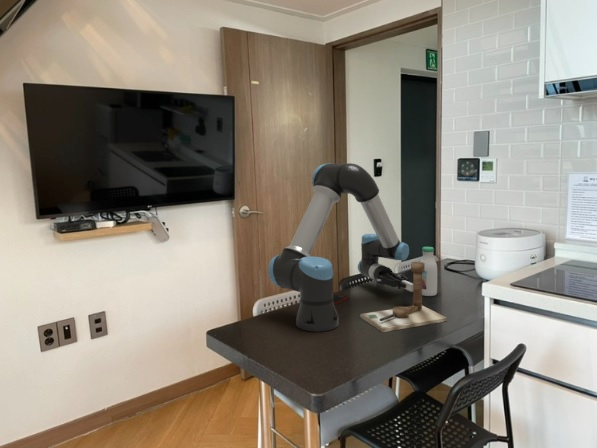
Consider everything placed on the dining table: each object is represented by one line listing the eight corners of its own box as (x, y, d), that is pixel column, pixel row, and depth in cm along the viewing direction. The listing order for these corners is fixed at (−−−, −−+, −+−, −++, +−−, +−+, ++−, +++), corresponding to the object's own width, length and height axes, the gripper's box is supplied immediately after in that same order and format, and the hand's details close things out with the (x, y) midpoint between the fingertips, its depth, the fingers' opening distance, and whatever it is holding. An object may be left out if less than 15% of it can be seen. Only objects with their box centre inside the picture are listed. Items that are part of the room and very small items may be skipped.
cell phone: (312, 304, 186) (312, 302, 186) (335, 296, 196) (335, 293, 196) (327, 308, 181) (326, 306, 180) (349, 299, 191) (349, 297, 191)
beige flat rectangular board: (382, 332, 154) (382, 327, 153) (360, 317, 169) (360, 313, 168) (447, 321, 162) (447, 316, 162) (420, 307, 177) (420, 303, 177)
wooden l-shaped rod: (386, 324, 156) (386, 275, 153) (374, 319, 160) (374, 272, 158) (427, 308, 170) (428, 263, 168) (415, 304, 175) (415, 261, 172)
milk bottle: (435, 291, 198) (435, 245, 195) (438, 296, 190) (439, 249, 187) (416, 291, 199) (417, 245, 196) (419, 296, 191) (420, 249, 188)
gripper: (394, 280, 199) (427, 295, 177) (367, 284, 195) (397, 299, 173) (394, 263, 198) (427, 276, 176) (367, 267, 193) (397, 280, 172)
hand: (412, 288), depth 174 cm, fingers closed
